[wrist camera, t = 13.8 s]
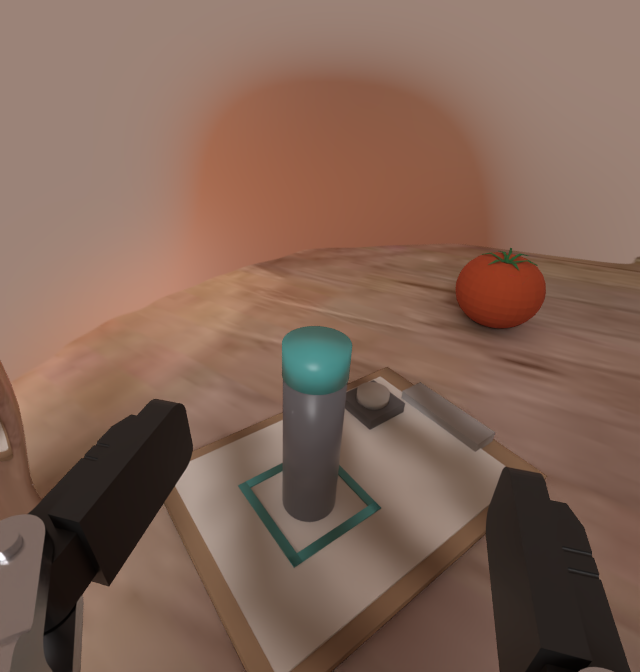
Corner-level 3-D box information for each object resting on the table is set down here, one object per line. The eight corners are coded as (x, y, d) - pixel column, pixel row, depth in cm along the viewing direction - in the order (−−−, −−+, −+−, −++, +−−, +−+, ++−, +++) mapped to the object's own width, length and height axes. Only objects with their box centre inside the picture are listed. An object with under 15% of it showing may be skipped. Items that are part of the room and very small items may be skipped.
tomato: (432, 312, 55) (447, 239, 50) (488, 301, 60) (507, 232, 54) (490, 351, 48) (515, 269, 43) (550, 334, 52) (579, 257, 47)
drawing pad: (386, 371, 43) (390, 350, 42) (544, 481, 32) (555, 457, 30) (150, 475, 30) (144, 450, 29) (272, 724, 19) (271, 700, 17)
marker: (314, 468, 31) (323, 320, 24) (347, 504, 28) (366, 349, 22) (271, 492, 29) (269, 337, 22) (301, 533, 26) (309, 371, 20)
